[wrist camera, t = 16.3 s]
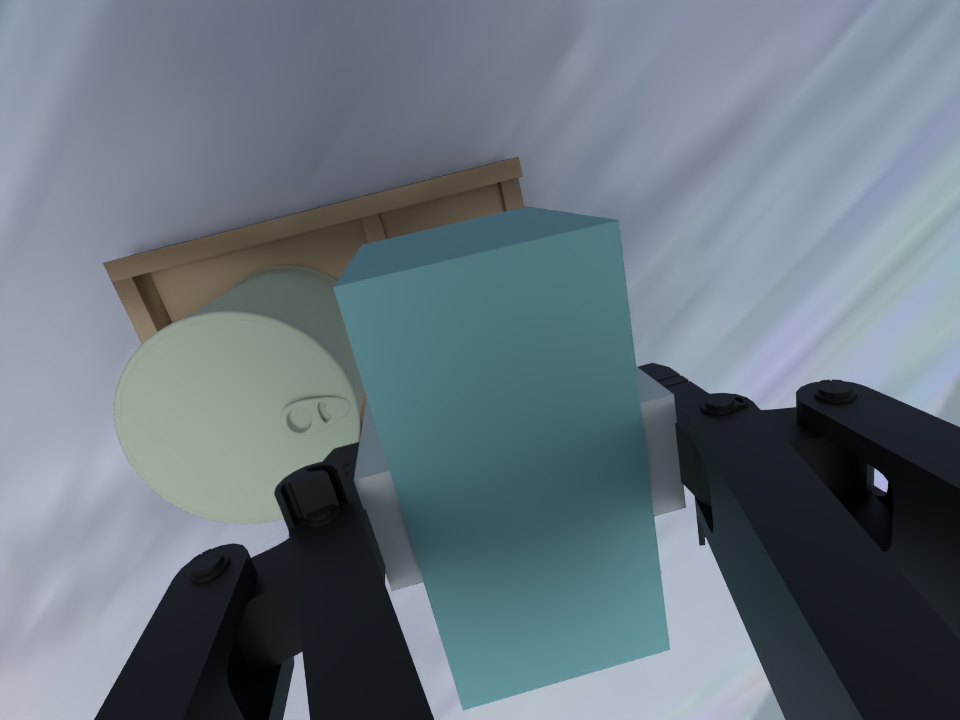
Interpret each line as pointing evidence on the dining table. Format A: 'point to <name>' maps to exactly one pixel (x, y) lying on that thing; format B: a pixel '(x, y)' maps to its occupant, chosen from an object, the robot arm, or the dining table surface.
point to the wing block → (514, 441)
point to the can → (241, 396)
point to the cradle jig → (302, 243)
